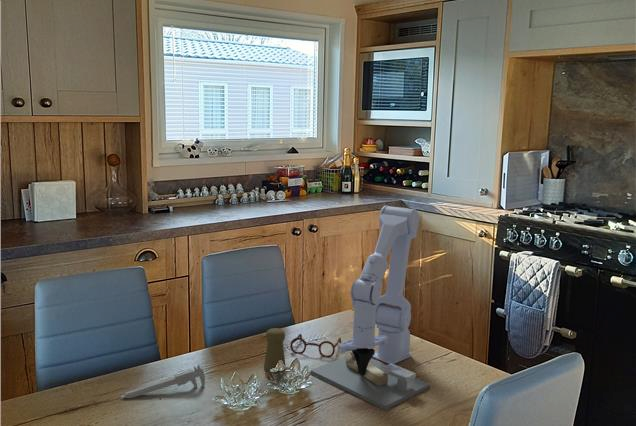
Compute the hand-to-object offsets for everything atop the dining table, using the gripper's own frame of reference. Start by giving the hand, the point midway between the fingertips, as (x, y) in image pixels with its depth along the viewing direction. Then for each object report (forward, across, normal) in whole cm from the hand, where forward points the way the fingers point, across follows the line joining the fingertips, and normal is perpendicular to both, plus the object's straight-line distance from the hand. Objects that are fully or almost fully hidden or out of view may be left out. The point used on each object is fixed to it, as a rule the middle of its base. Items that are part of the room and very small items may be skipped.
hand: (361, 373), depth 161 cm
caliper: (+3, -48, +16) cm, 51 cm away
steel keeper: (+1, +6, -8) cm, 10 cm away
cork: (+2, -17, +17) cm, 24 cm away
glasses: (+3, +1, +25) cm, 25 cm away
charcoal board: (+2, +2, -1) cm, 3 cm away
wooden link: (+1, +2, +1) cm, 3 cm away
